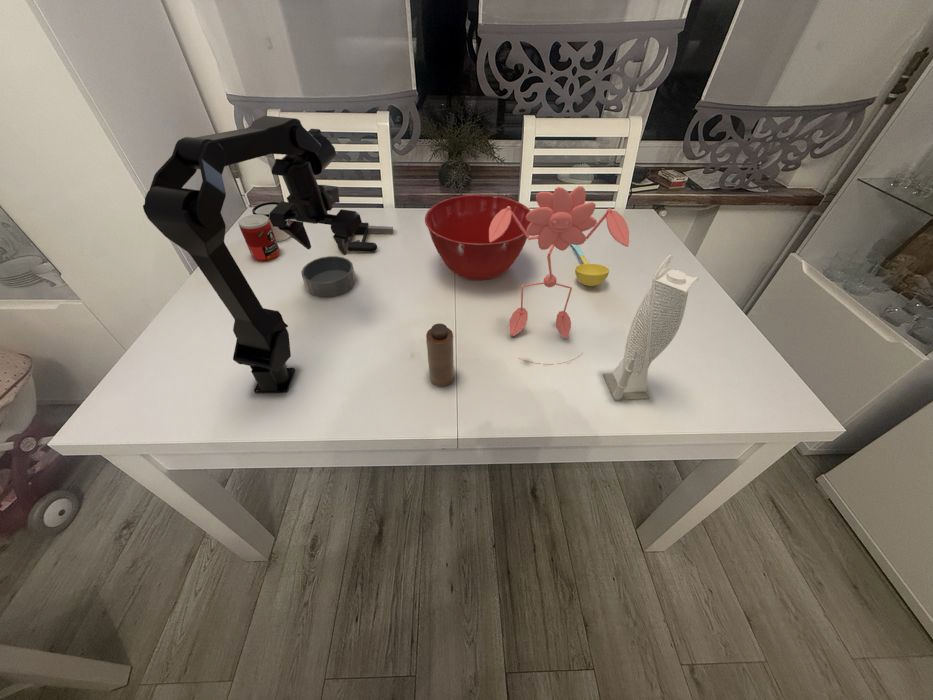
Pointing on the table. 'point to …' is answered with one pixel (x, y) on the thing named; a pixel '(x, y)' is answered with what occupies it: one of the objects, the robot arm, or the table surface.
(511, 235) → the mixing bowl
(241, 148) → the robot arm
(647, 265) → the table surface
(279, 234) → the mug
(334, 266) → the tin
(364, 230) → the door handle
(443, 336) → the pepper mill
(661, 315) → the skyscraper
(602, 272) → the ladle
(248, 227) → the canned food
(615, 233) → the figurine
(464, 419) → the table surface
